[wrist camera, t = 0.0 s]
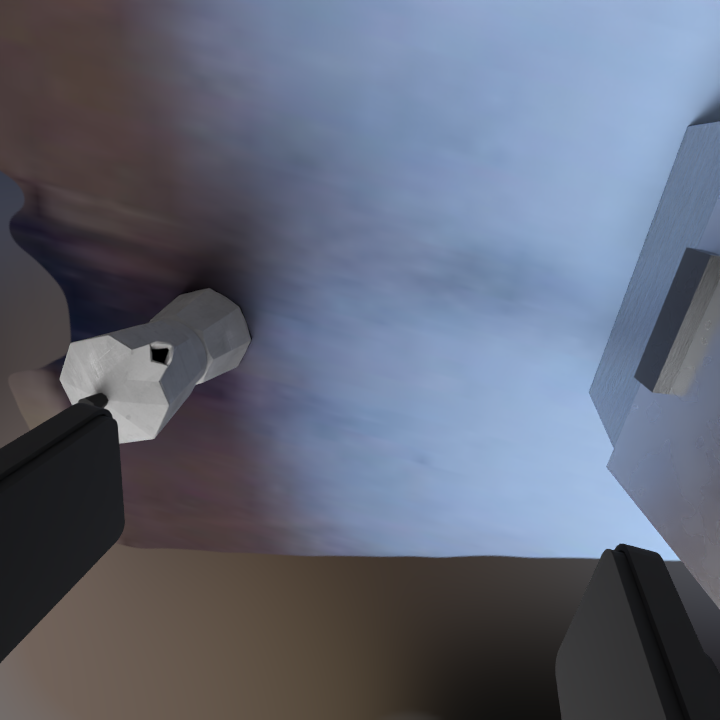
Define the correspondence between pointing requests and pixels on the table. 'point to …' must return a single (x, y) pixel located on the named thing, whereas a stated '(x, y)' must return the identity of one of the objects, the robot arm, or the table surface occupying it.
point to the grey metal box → (658, 270)
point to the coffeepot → (156, 362)
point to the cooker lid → (681, 417)
